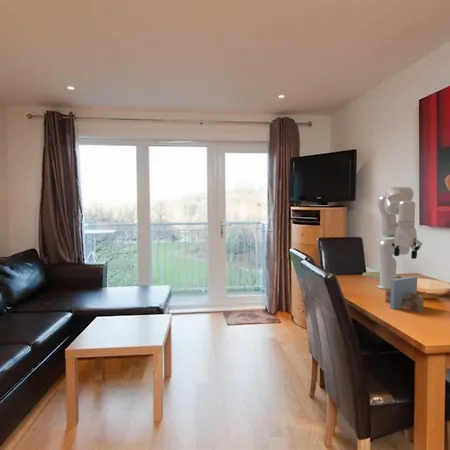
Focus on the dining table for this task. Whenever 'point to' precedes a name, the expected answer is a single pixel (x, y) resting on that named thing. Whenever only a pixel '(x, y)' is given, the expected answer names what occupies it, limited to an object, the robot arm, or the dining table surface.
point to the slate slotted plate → (401, 290)
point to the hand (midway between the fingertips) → (405, 257)
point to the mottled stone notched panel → (408, 301)
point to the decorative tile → (376, 275)
